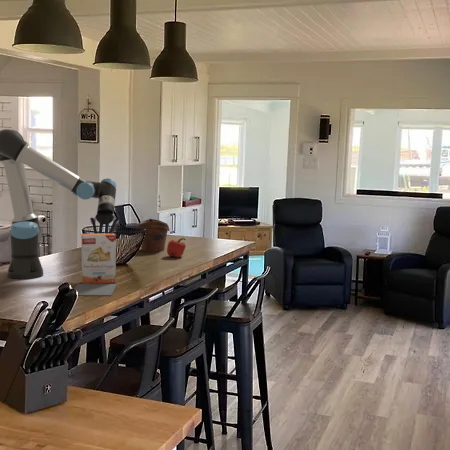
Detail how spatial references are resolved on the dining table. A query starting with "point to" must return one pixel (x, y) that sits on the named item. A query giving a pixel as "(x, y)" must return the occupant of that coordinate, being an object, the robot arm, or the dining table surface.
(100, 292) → the grey mat
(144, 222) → the brown lidded pot
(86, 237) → the cracker box
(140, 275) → the dining table surface
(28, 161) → the robot arm
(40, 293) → the dining table surface
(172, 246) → the vegetable
